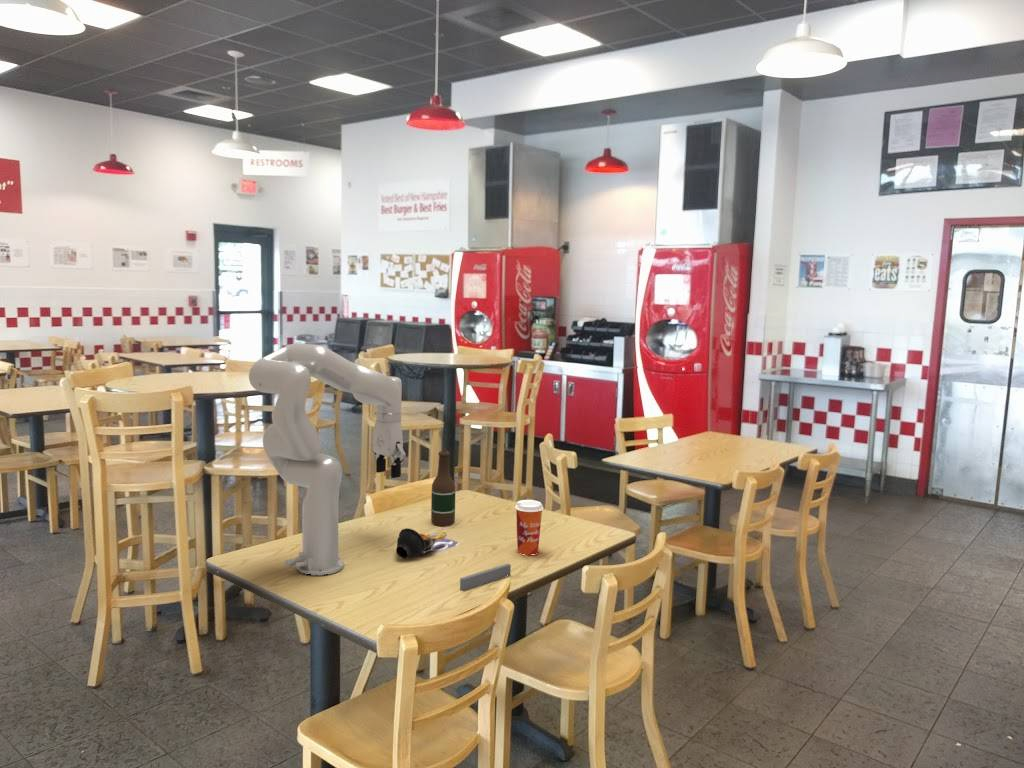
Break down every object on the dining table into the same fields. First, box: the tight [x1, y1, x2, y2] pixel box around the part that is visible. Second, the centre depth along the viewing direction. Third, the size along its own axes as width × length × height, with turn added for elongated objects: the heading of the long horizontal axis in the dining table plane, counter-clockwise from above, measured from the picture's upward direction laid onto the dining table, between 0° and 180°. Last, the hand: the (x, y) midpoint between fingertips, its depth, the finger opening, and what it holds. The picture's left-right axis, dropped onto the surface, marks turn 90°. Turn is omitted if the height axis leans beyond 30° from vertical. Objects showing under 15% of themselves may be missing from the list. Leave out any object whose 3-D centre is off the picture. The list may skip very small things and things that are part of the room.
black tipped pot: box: [395, 528, 448, 560], centre depth 222 cm, size 9×11×18 cm
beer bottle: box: [430, 450, 456, 528], centre depth 248 cm, size 8×8×24 cm
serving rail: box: [459, 563, 512, 591], centre depth 202 cm, size 17×1×3 cm, turn 133°
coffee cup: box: [515, 499, 544, 555], centre depth 224 cm, size 8×8×15 cm
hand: (388, 474), depth 233 cm, fingers open, 7 cm apart
